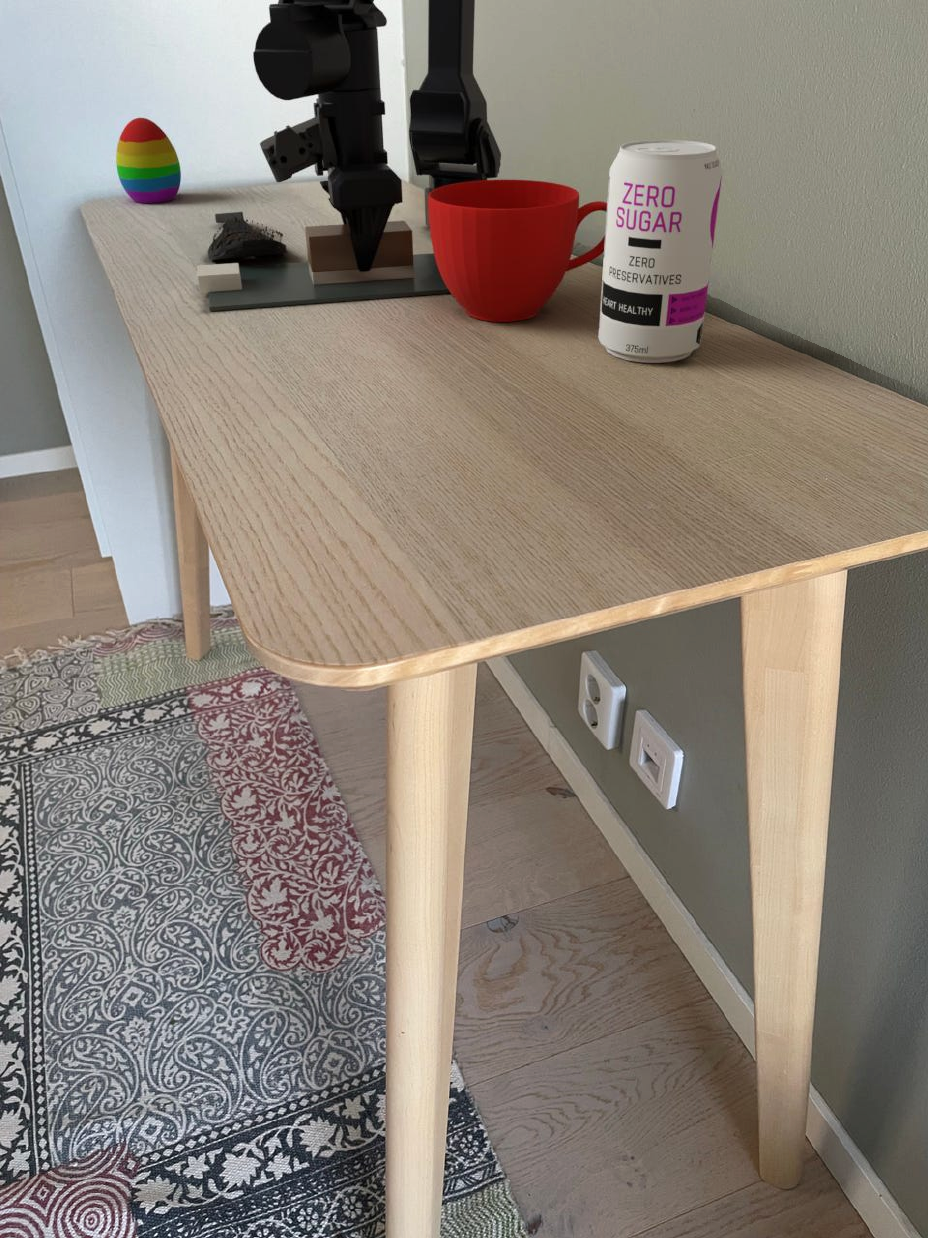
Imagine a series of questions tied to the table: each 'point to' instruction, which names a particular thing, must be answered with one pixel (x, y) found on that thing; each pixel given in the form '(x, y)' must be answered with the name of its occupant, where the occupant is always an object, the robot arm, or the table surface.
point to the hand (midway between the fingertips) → (361, 264)
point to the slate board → (321, 286)
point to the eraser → (337, 258)
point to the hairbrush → (242, 239)
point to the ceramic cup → (506, 243)
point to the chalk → (219, 277)
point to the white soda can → (658, 248)
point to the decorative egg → (147, 163)
